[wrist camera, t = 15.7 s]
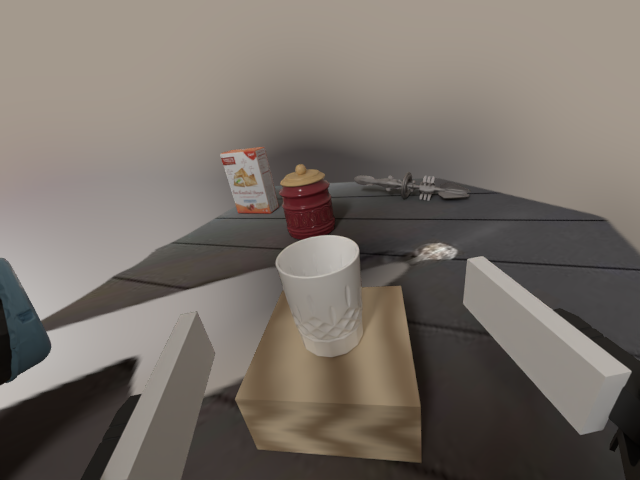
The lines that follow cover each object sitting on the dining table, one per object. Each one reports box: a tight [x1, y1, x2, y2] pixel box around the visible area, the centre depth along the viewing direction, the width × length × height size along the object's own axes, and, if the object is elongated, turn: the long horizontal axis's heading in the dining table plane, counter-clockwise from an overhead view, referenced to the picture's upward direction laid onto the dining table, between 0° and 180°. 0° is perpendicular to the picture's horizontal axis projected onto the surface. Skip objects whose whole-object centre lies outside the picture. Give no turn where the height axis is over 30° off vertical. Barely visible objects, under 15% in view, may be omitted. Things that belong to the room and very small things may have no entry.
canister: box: [279, 164, 335, 239], centre depth 74 cm, size 13×13×18 cm
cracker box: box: [220, 147, 279, 213], centre depth 95 cm, size 14×6×21 cm, turn 67°
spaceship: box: [354, 172, 471, 201], centre depth 86 cm, size 8×35×8 cm
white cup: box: [276, 235, 363, 357], centre depth 29 cm, size 8×8×10 cm
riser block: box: [235, 286, 422, 463], centre depth 33 cm, size 16×16×8 cm
